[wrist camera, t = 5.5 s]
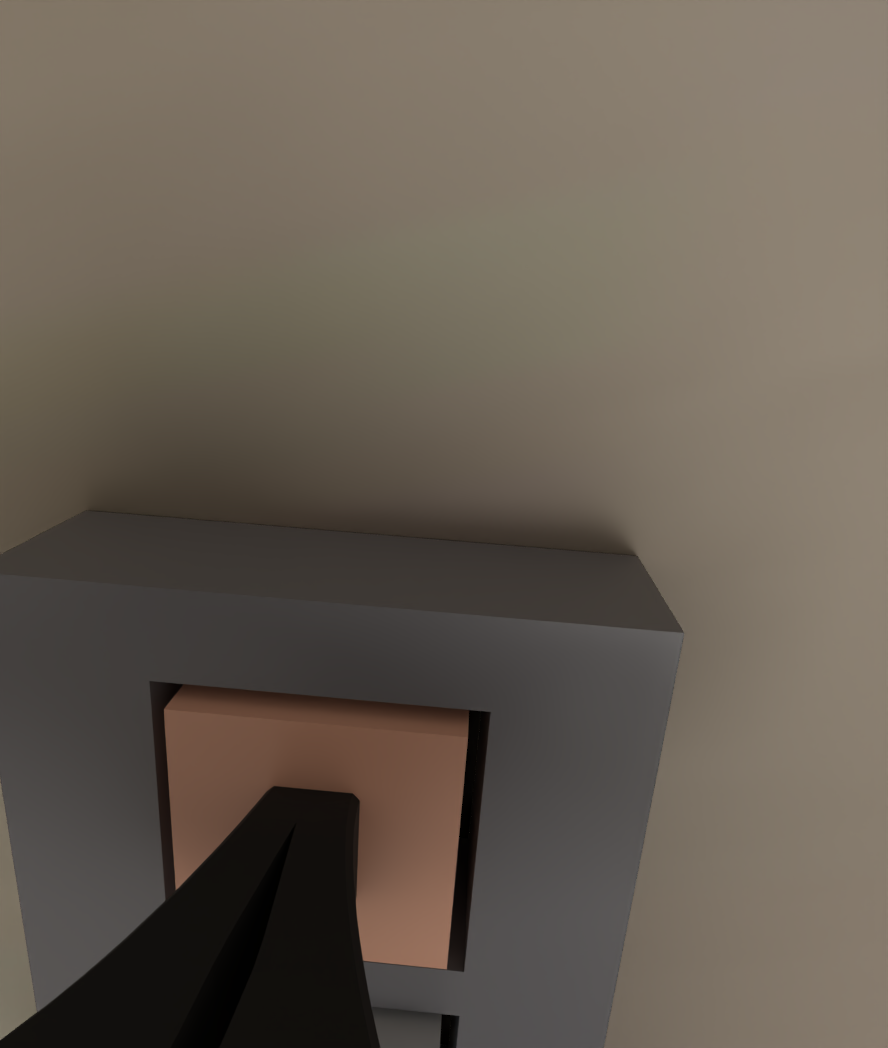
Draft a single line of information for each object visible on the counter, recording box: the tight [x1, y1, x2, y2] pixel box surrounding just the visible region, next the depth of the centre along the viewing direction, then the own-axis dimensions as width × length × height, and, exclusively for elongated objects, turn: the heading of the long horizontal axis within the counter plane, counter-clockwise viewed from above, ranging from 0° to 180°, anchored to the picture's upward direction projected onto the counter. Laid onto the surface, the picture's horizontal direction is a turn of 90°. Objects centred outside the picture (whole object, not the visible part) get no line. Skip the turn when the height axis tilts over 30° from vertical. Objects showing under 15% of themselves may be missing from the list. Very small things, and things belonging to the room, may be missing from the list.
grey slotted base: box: [0, 511, 684, 1048], centre depth 14 cm, size 20×10×3 cm, turn 176°
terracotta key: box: [164, 684, 469, 969], centre depth 12 cm, size 4×4×3 cm
